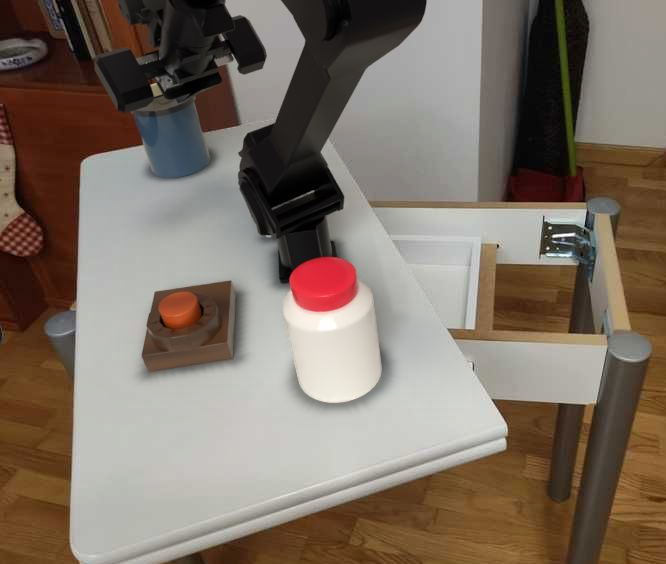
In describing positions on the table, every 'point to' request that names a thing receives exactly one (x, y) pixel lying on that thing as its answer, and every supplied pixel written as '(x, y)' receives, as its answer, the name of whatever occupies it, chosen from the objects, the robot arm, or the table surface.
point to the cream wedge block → (156, 90)
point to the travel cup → (172, 137)
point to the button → (180, 310)
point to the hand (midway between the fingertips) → (178, 99)
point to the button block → (192, 330)
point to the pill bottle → (332, 330)
